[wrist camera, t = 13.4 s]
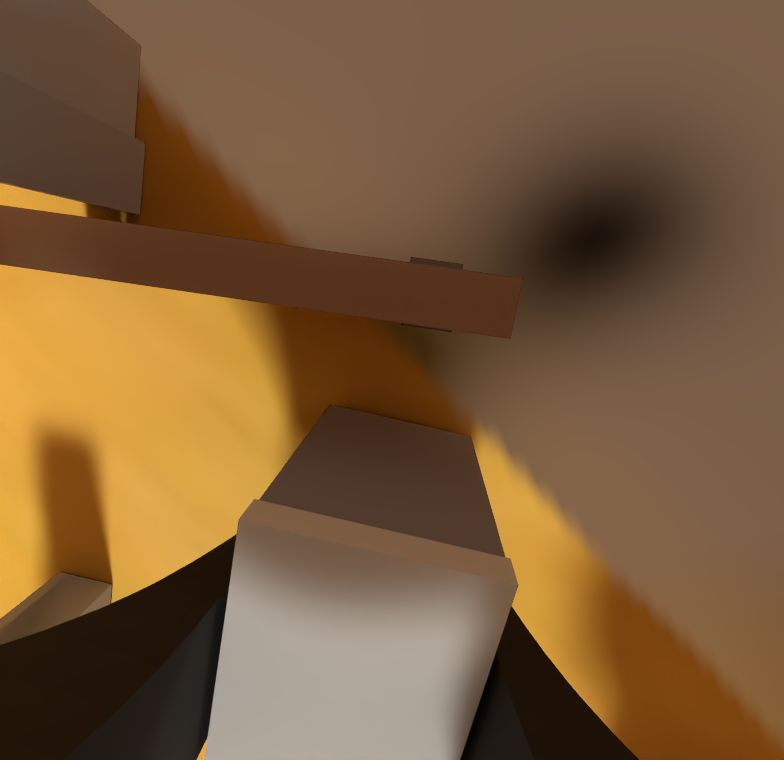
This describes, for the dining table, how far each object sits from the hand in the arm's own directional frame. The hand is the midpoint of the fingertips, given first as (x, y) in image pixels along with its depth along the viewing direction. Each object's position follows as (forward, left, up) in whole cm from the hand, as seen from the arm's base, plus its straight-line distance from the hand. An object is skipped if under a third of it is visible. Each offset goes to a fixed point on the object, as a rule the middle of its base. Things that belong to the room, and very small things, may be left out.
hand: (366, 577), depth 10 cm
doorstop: (0, +1, -3) cm, 3 cm away
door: (+4, -6, -3) cm, 8 cm away
